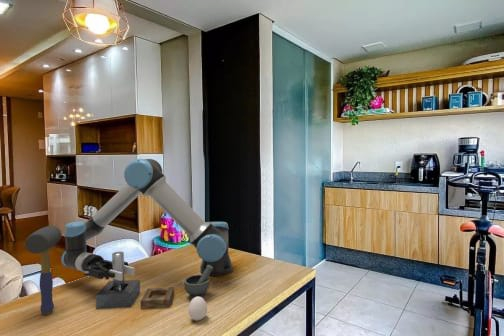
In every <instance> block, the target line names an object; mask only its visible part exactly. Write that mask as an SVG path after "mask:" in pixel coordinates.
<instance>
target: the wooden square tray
mask: <svg viewBox="0 0 504 336" xmlns="http://www.w3.org/2000/svg"><path fill="white" fill-rule="evenodd" d="M174 295H175V287H172V286H171V287H169V286H168V287H167V286H166V287H154V288H153V287H150V288H147V289H146V291H145V292H144V294H143V296H142V298H141V299H140V310H147V309H148V310H150V309H151V310H152V309H165V308H166V309H167V308H170V307H171V303H172V302H173V299H174Z"/></svg>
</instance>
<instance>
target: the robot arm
mask: <svg viewBox="0 0 504 336" xmlns="http://www.w3.org/2000/svg"><path fill="white" fill-rule="evenodd" d="M123 173H124V175H123V177H124V181H125V182H126V184H125V185H124V186H122V188H121V189H120V190H119V191H118V192H117V193H116V194H114V195H113V196H112V197H111V198H110V199H109V200H108V201H107V202H106V203H105V204H104V205H103V206H102V207H101V208H100V209H98V211H96V212H95V213H94V215H92V216H91V217H89V218H88V220H87V221H86V222H85V221H73V222H67V223H66V224H65V226H64V227H65V229H64V230H65V231H64V239H65V242H64V243H65V251H64V252H63V253H62V255H61V258H60V260H61V261H60V262H61V264H62V265H63V266H64V267H67V268H69V269H72V270H73V269H74V270H77V271H80V272H83V276H90V277H92V278H95V279H99V280H103V279H104V278H105V280H109V279H113V278H114V279H117V280H120V281H122V280H123V273H122V272H119V271H115V270H113V265H112V260H107V259H104V257H102V256H101V255H98V254H95V253H93V252H92V253H91V252H87V241H89V240H91V239H93V238H94V237H96V236H98V235H100V234H102V232H103V231H104V229H105V228H106V227H107V226H108V225H109V224H110V223H111V222H112V221H113V220H114V219H116V217H118V216H119V214H121V213H122V212H123V211H124V210H125V209H126V208H127V207H128V206H129V205H130V204H131V203H132V202H133V201H134V200H136V199H137V198H138V197H139V196H140V195H141V194H142V195H143V196H144V197H146V196H147V197H151V199H152V200H153V201H154V202H155V203H156V204H157V205H158V206H159V207H160V208H161V209H162V210H163V211H164V212H165V213H166V214H167V215H168V216H169V217H170V218H171V219H172V220H173V221H174V222H175V223H176V224H177V225H178V226H179V227H180V229H182V230H183V231H184V233H186V234H187V236H189V242H190V244H191V245H192V246H193V247H194V248H195V249H196V253H197V255H198V257H199V258H200V259H201V263H200V267H199V268H200V269H199V271H200V274H201V275H202V274H203V273H204V271H205V269H206V266H207V265H210V266H212V267H213V270H212V271H211V272H210V275H209V277H223V276H226V275H228V274H231V272H232V271H233V262H232V260H231V257H230V254H229V229H230V228H229V224H228V223H227V222H226V221H204V220H203V218H202V217H201V216H200V215H198V214H197V212H196V211H194V209H193V208H192V207H191V206H190V205H189V204H188V203H187V202H186V201H185V200H184V199H183V198H182V197H181V196H180V195H179V194H178V193H177V191H175V190H174V189H173V188H172V187H171V186H170V184H169V183H167V181H166V180H167V177H166V175H164V173H163V168H162V165H161V164H160V163H159V162H158V161H157V160H155V159H152V158H137V159H134V160H132V161H130V162H128V164H127V165H126V167H125V168H124V171H123ZM124 274H125V275H126V274H127V275H130V276H135V275H136V268H135V267H133V266H129V262H128V261H124Z"/></svg>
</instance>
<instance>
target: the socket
mask: <svg viewBox="0 0 504 336" xmlns="http://www.w3.org/2000/svg"><path fill="white" fill-rule="evenodd" d="M140 293H141V280H140V279H125V290H113V280H109V281H108V282H107V283H106V284H105V285H104V286H103V287H102V288H101V289H100V290H99V291H98V292H97V294H96V295H95V309H96V310H98V309H99V310H100V309H103V310H104V309H116V308H119V309H120V308H121V309H122V308H131V307H132V306H133V304H134V303H135V301H136V299H137V298H138V296H139V294H140Z"/></svg>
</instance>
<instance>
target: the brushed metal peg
mask: <svg viewBox="0 0 504 336" xmlns="http://www.w3.org/2000/svg"><path fill="white" fill-rule="evenodd" d="M111 257H112V258H111V261H112V265H113V270H115V271H119V272H122V273H123V280H122V281H120V280H117V279H114V278H112V281H113V290H125V280H126V279H125V273H124V262H125V253H124V251H116V252H113V253H111Z"/></svg>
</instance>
